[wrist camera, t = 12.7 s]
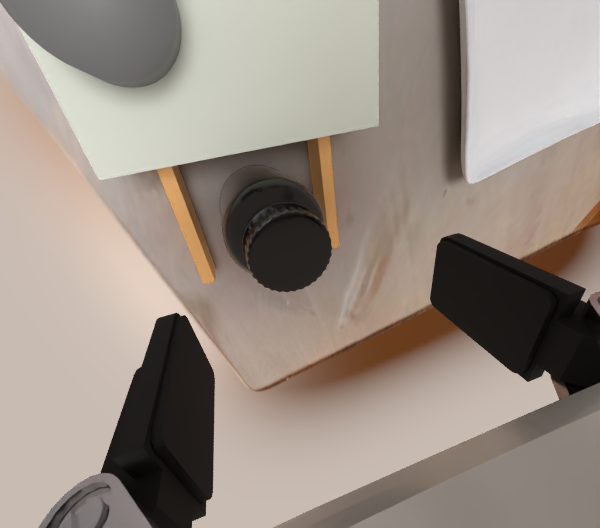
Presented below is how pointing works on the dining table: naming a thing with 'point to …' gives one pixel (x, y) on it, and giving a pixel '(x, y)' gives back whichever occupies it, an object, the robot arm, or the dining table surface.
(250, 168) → the supplement bottle
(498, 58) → the salad plate
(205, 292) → the dining table surface
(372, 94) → the block with grey puck
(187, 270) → the dining table surface
